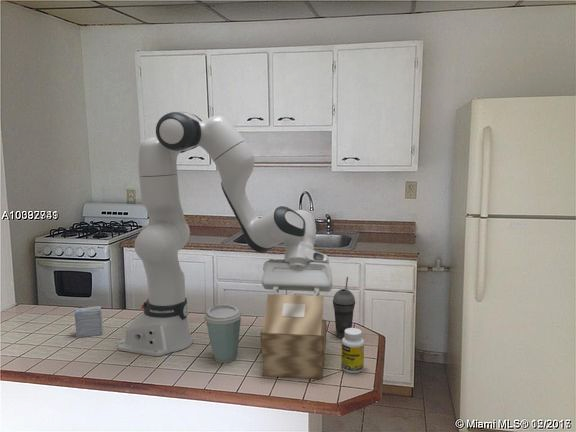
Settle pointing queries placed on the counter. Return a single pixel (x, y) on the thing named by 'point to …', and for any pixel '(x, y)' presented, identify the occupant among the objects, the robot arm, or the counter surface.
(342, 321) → the beverage cup
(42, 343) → the counter surface
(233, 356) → the disposable coffee cup
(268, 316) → the lid flap
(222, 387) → the counter surface
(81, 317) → the grey upright block
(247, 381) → the counter surface
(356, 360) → the pill bottle
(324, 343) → the cardboard carton
